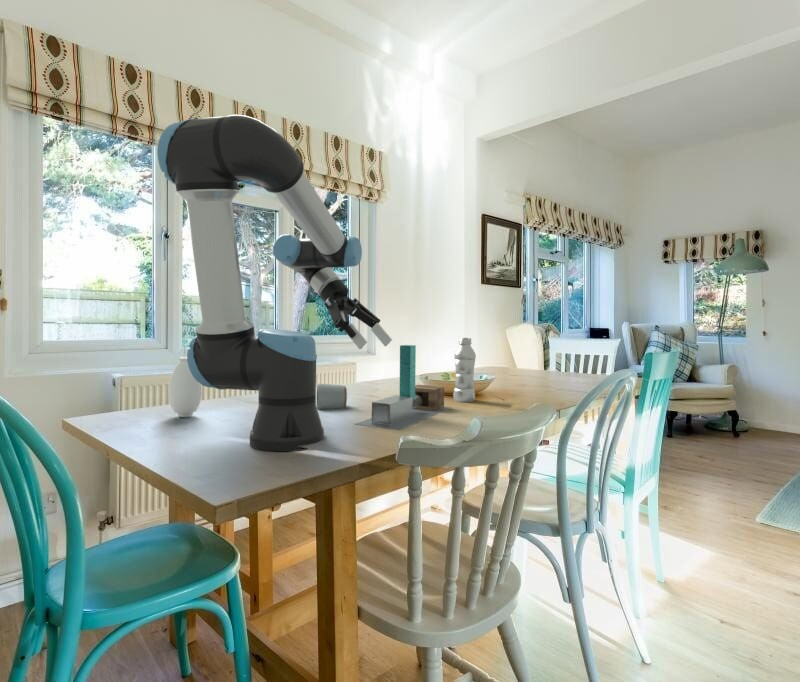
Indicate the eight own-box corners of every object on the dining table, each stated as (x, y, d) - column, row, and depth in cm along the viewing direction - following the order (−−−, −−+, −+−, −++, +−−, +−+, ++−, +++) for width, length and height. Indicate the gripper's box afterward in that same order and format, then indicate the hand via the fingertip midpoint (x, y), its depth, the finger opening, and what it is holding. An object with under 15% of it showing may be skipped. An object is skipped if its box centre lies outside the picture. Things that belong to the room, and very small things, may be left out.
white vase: (201, 413, 137) (200, 346, 136) (201, 418, 129) (200, 347, 128) (169, 414, 134) (168, 346, 133) (167, 420, 126) (166, 348, 125)
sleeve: (389, 426, 118) (389, 404, 118) (371, 424, 120) (371, 402, 120) (412, 417, 128) (412, 396, 128) (395, 415, 131) (395, 395, 130)
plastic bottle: (463, 401, 160) (464, 337, 159) (479, 404, 154) (480, 338, 153) (448, 403, 156) (449, 337, 155) (464, 406, 150) (465, 338, 149)
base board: (399, 434, 114) (399, 429, 114) (354, 428, 120) (354, 424, 120) (451, 411, 143) (451, 407, 143) (413, 407, 148) (413, 403, 148)
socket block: (435, 410, 138) (435, 389, 137) (408, 408, 141) (408, 387, 141) (444, 407, 143) (444, 386, 143) (418, 404, 147) (418, 384, 146)
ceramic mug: (347, 412, 139) (347, 384, 139) (317, 413, 137) (317, 385, 137) (343, 406, 149) (343, 380, 149) (315, 407, 148) (315, 381, 147)
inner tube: (392, 418, 121) (392, 347, 120) (381, 416, 122) (381, 347, 121) (422, 406, 136) (422, 344, 135) (412, 405, 137) (412, 344, 136)
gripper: (346, 299, 154) (389, 350, 148) (293, 296, 132) (342, 357, 126) (361, 281, 151) (406, 333, 145) (310, 275, 129) (360, 336, 123)
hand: (376, 344), depth 135 cm, fingers open, 13 cm apart
